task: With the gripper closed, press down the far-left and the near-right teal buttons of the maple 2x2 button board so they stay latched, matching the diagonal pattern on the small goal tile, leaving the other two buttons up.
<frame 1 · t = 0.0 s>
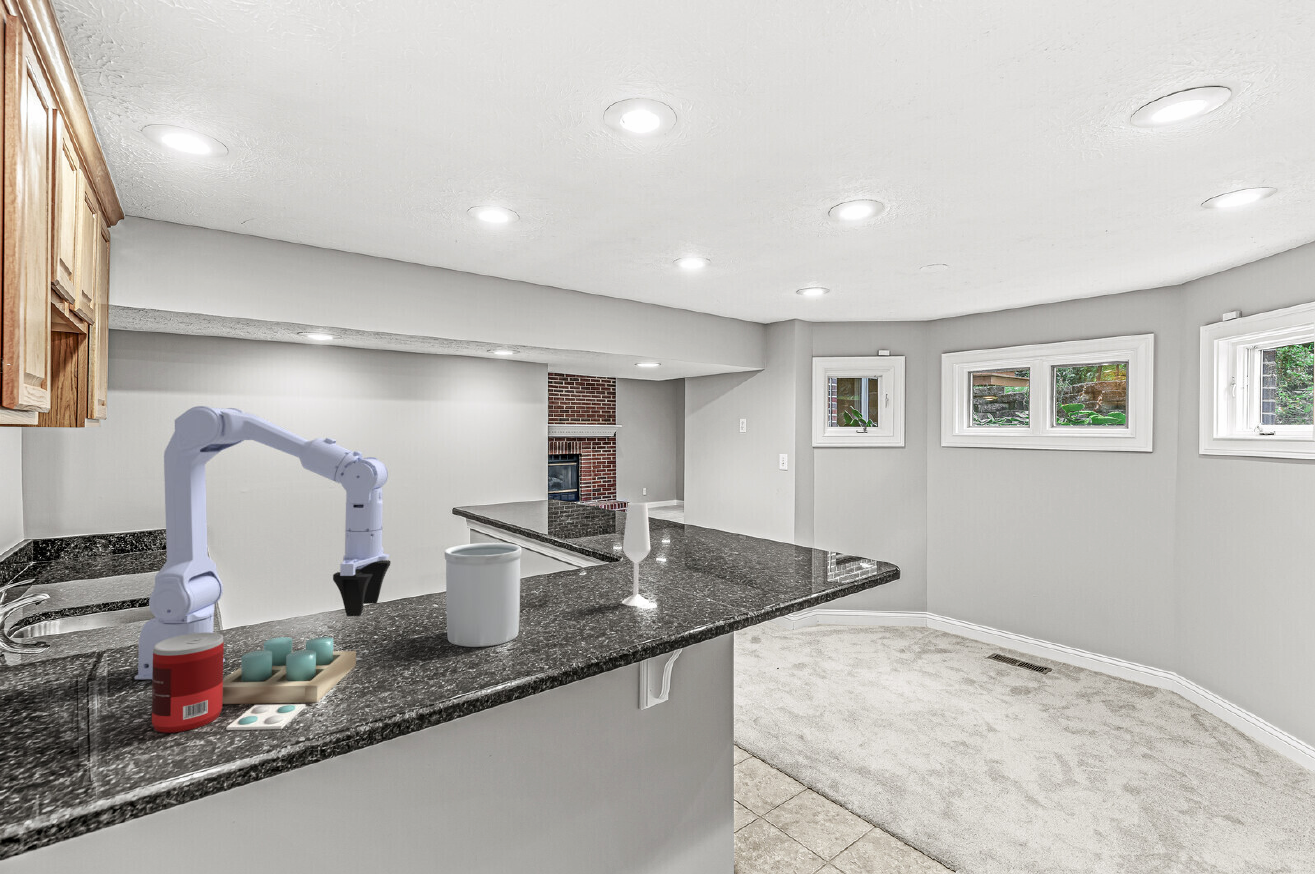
hand: (362, 609, 107), 10 cm above the counter, tool pointing down, fingers open, 7 cm apart
canned food: (187, 721, 87), on the counter
button near left: (278, 651, 104), point 4 cm above the counter, slide at 0.0 cm
champagne flute: (635, 603, 154), on the counter
utensil holder: (482, 637, 126), on the counter
button near right: (256, 666, 97), point 4 cm above the counter, slide at 0.0 cm
goal tile: (267, 717, 89), on the counter
button board: (288, 683, 101), on the counter
button far left: (319, 651, 104), point 4 cm above the counter, slide at 0.0 cm
button far right: (301, 665, 98), point 4 cm above the counter, slide at 0.0 cm
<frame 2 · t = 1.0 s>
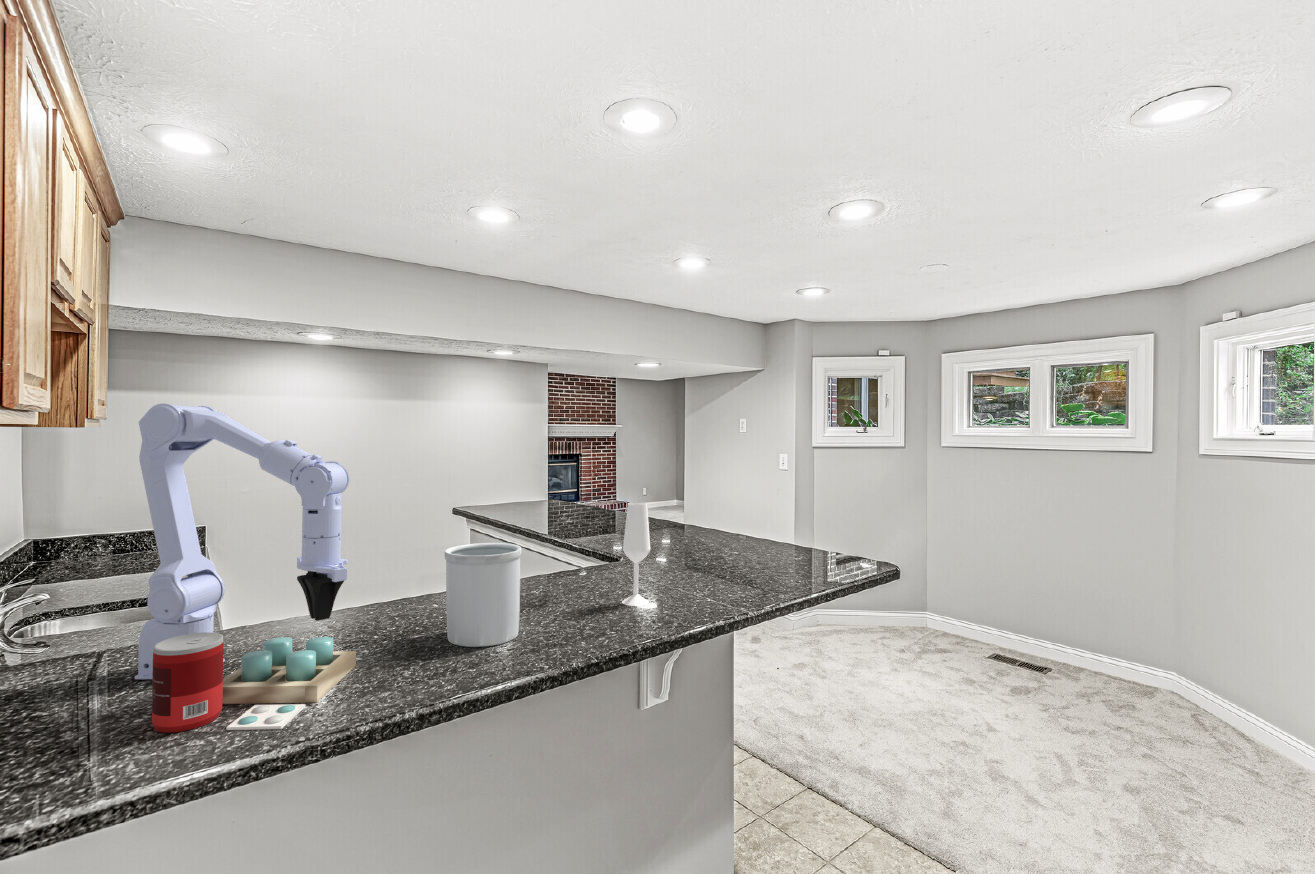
hand: (320, 618, 104), 9 cm above the counter, tool pointing down, fingers closed
nothing on the counter moved.
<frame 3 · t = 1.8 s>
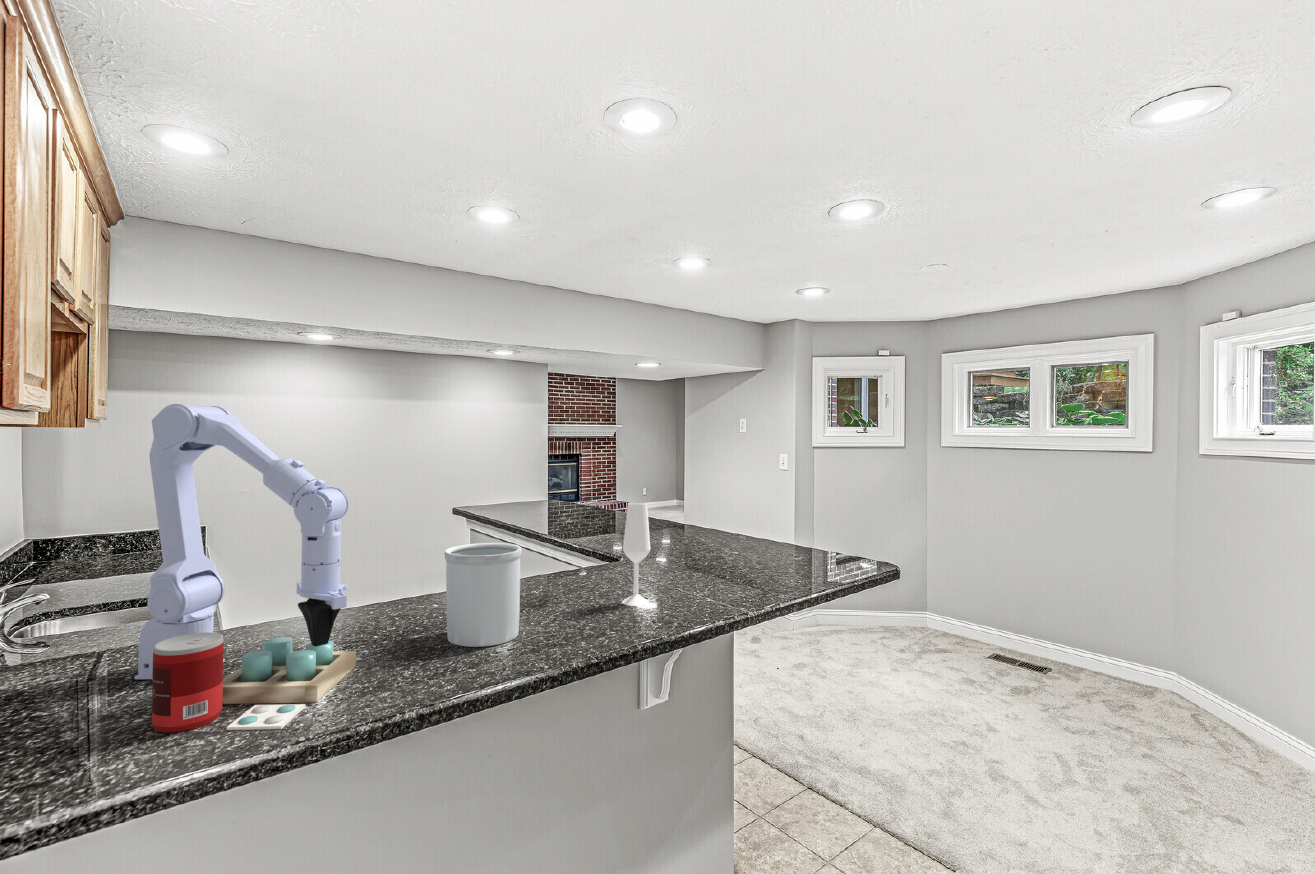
hand: (319, 644, 104), 5 cm above the counter, tool pointing down, fingers closed, pressing on button far left
button far left: (319, 654, 104), point 3 cm above the counter, slide at 0.6 cm, touching gripper
everything else where it was.
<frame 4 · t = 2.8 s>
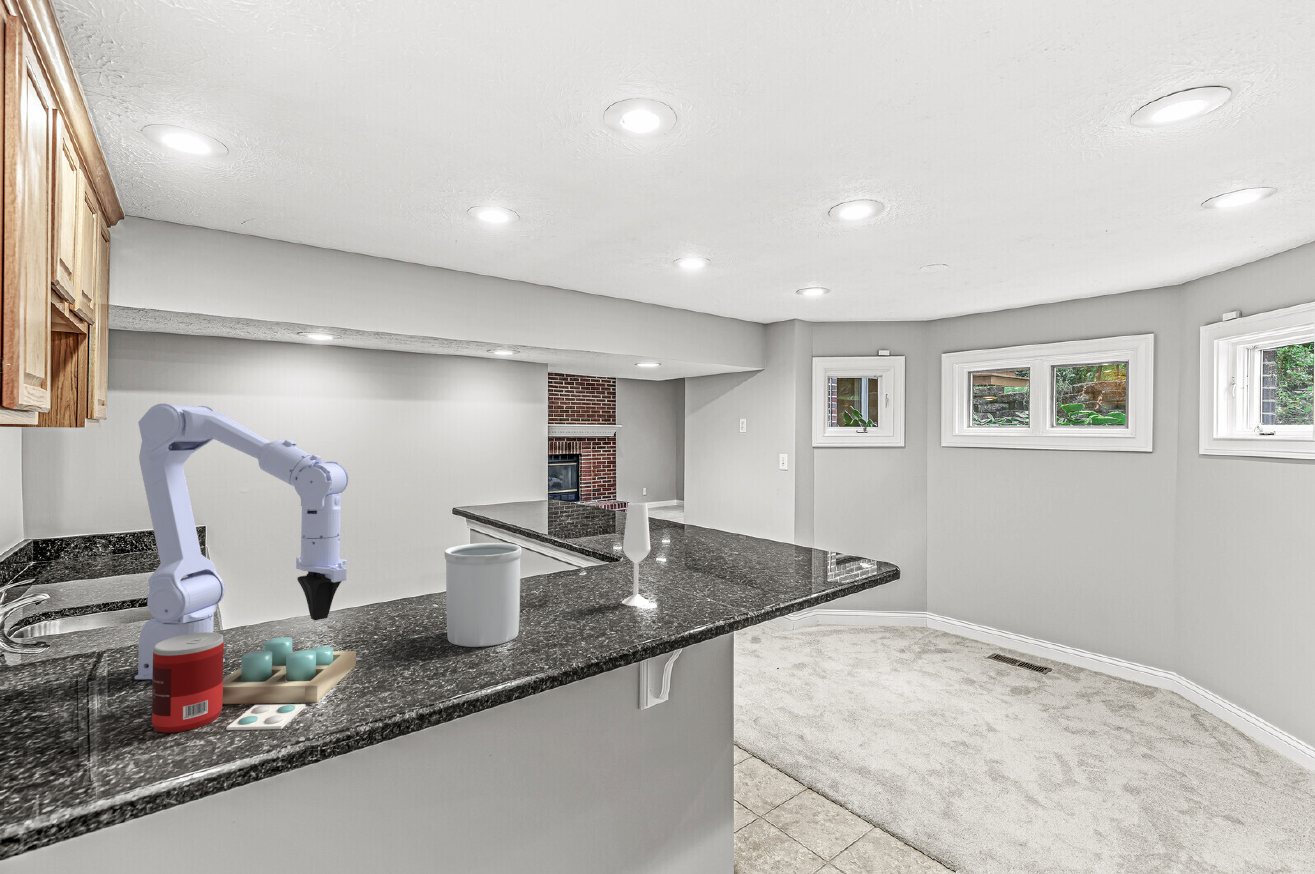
hand: (319, 618, 104), 9 cm above the counter, tool pointing down, fingers closed
button far left: (319, 661, 104), point 2 cm above the counter, slide at 1.6 cm
everything else where it was.
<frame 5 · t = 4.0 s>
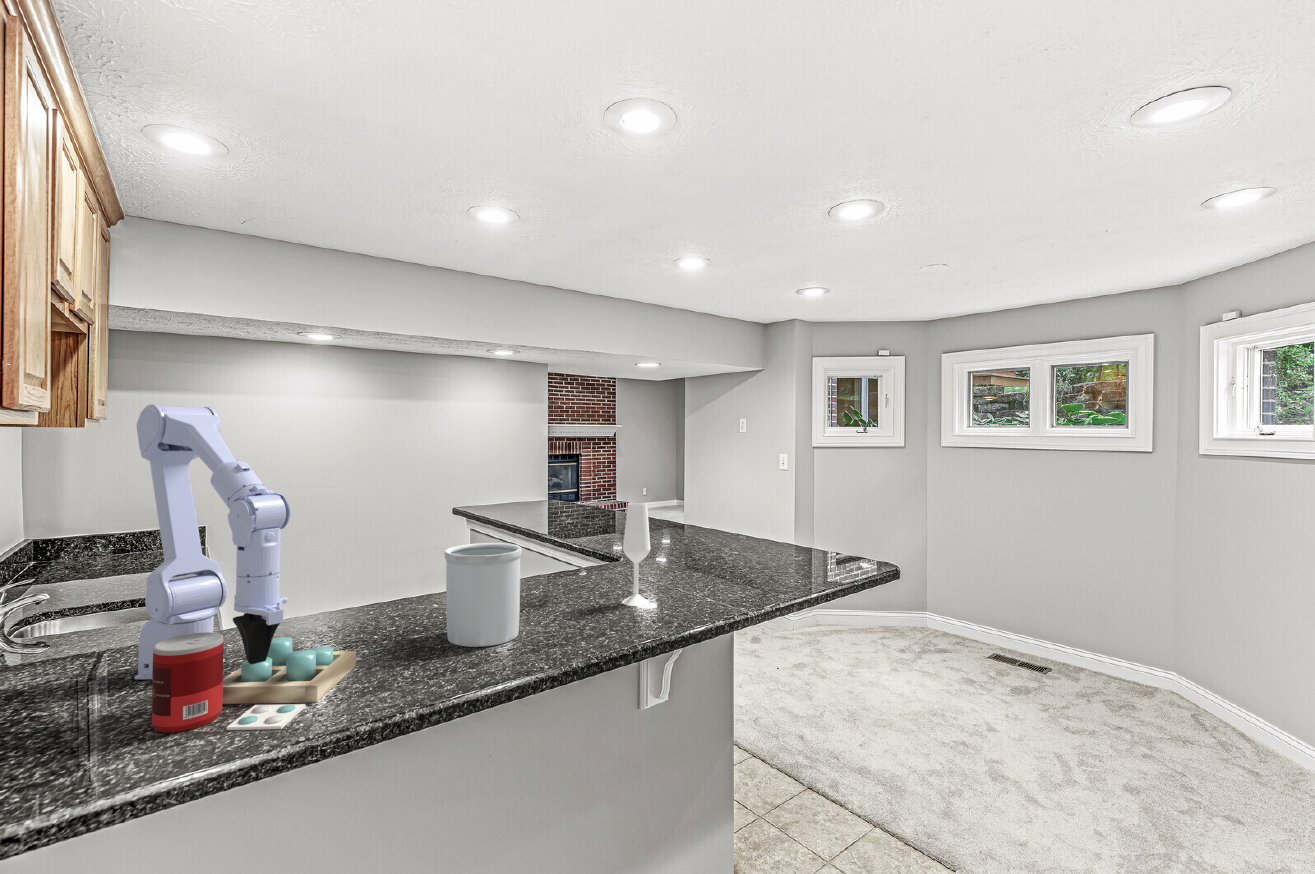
hand: (256, 661, 97), 5 cm above the counter, tool pointing down, fingers closed, pressing on button near right
button near right: (256, 672, 97), point 3 cm above the counter, slide at 1.0 cm, touching gripper
everything else where it was.
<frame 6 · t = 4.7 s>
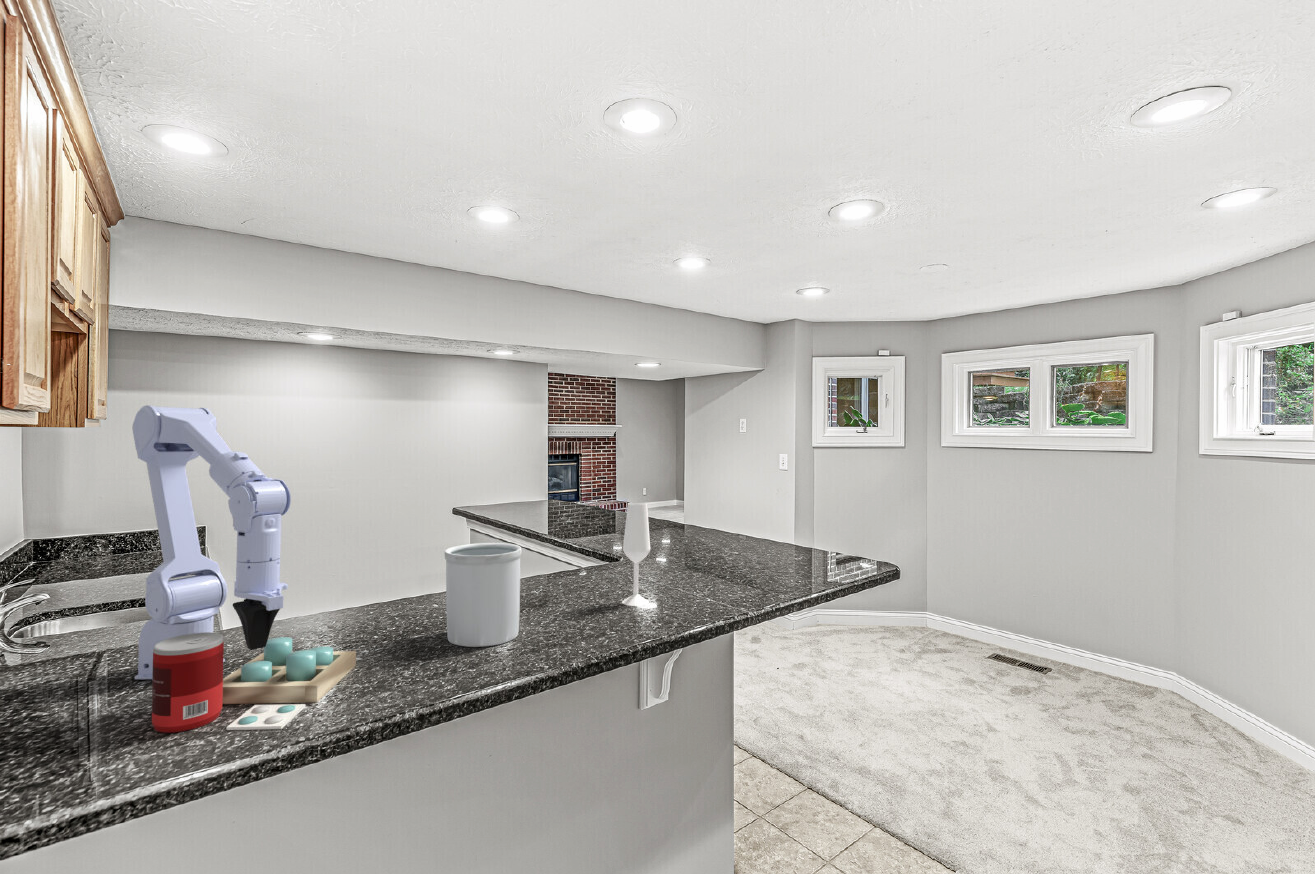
hand: (256, 647, 97), 7 cm above the counter, tool pointing down, fingers closed
button near right: (256, 676, 97), point 2 cm above the counter, slide at 1.6 cm
everything else where it was.
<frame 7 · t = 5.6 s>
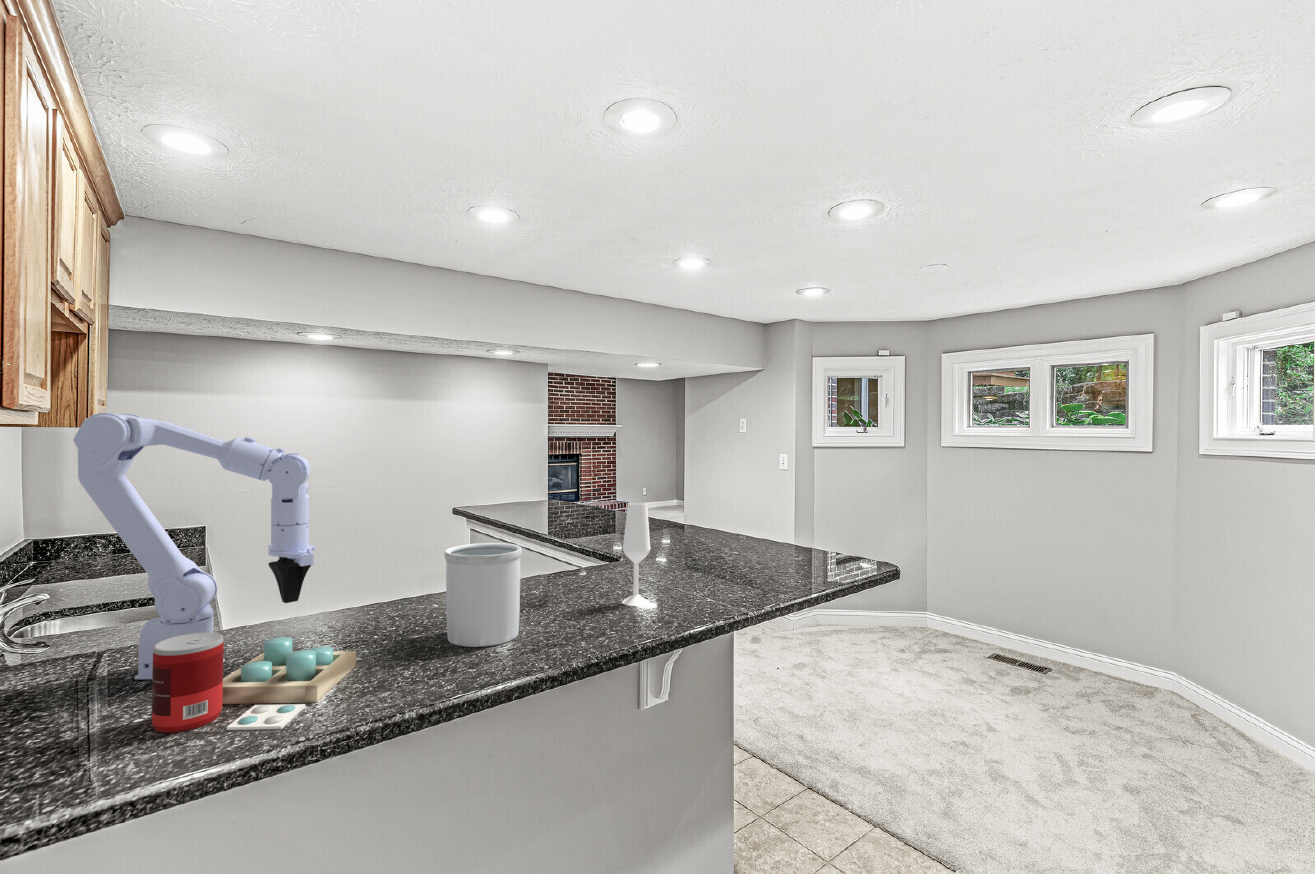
hand: (290, 601, 110), 10 cm above the counter, tool pointing down, fingers closed
nothing on the counter moved.
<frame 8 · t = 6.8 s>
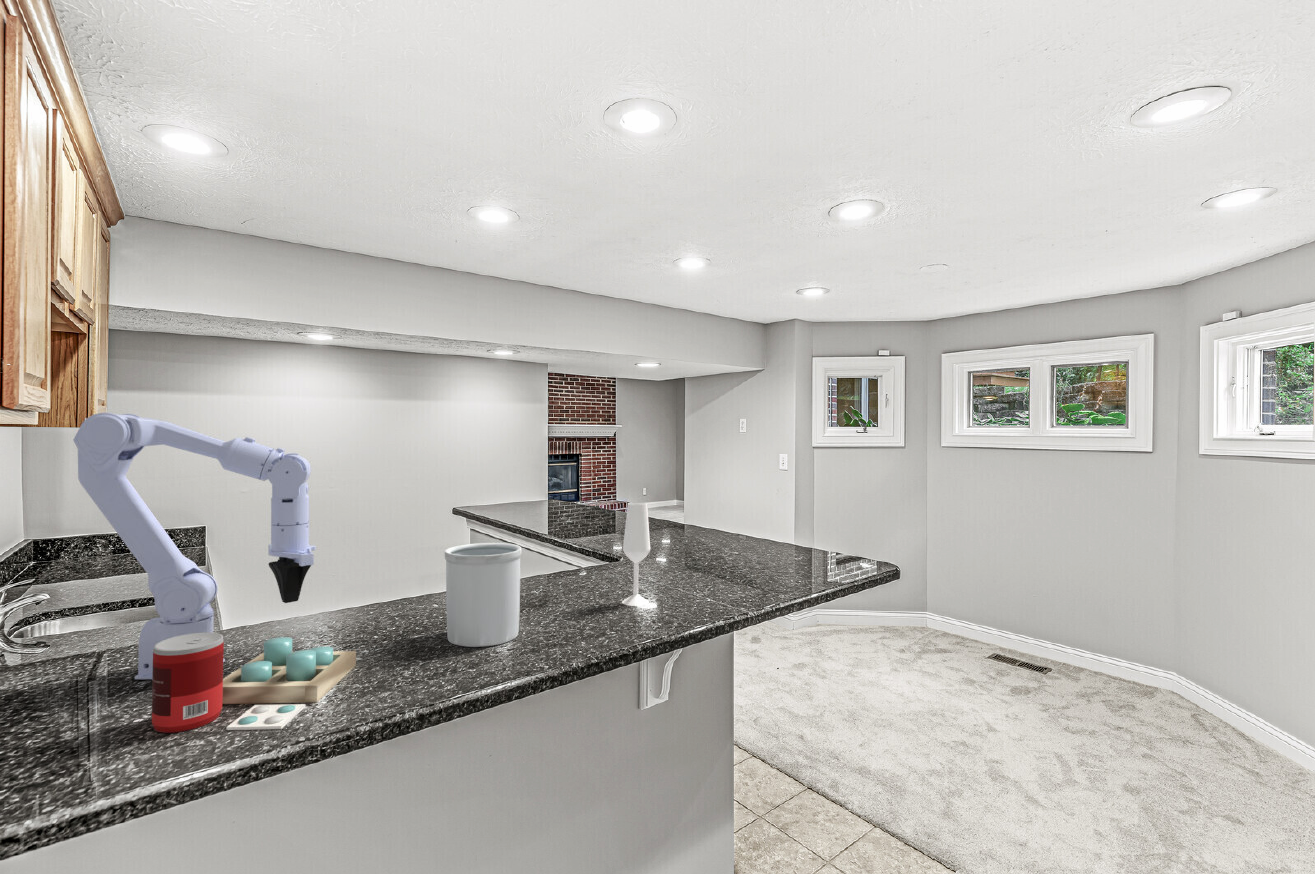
hand: (290, 601, 110), 10 cm above the counter, tool pointing down, fingers closed
nothing on the counter moved.
at the end: button far left slide at 1.6 cm; button near right slide at 1.6 cm; button near left slide at 0.0 cm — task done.
